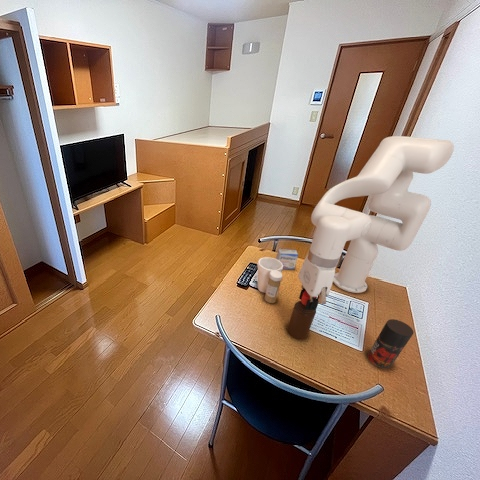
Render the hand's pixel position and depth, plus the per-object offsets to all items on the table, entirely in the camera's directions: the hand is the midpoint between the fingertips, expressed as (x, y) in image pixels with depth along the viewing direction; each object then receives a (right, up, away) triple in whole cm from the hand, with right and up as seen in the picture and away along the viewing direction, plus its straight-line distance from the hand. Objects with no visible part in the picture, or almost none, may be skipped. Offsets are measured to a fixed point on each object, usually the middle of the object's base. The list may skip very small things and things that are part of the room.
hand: (307, 303), depth 83 cm
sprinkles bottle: (-3, -4, +22) cm, 23 cm away
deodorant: (+21, -17, -2) cm, 28 cm away
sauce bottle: (+1, -12, +8) cm, 14 cm away
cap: (0, +1, 0) cm, 1 cm away
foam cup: (-2, 0, +28) cm, 28 cm away
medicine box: (+12, +8, +40) cm, 43 cm away
